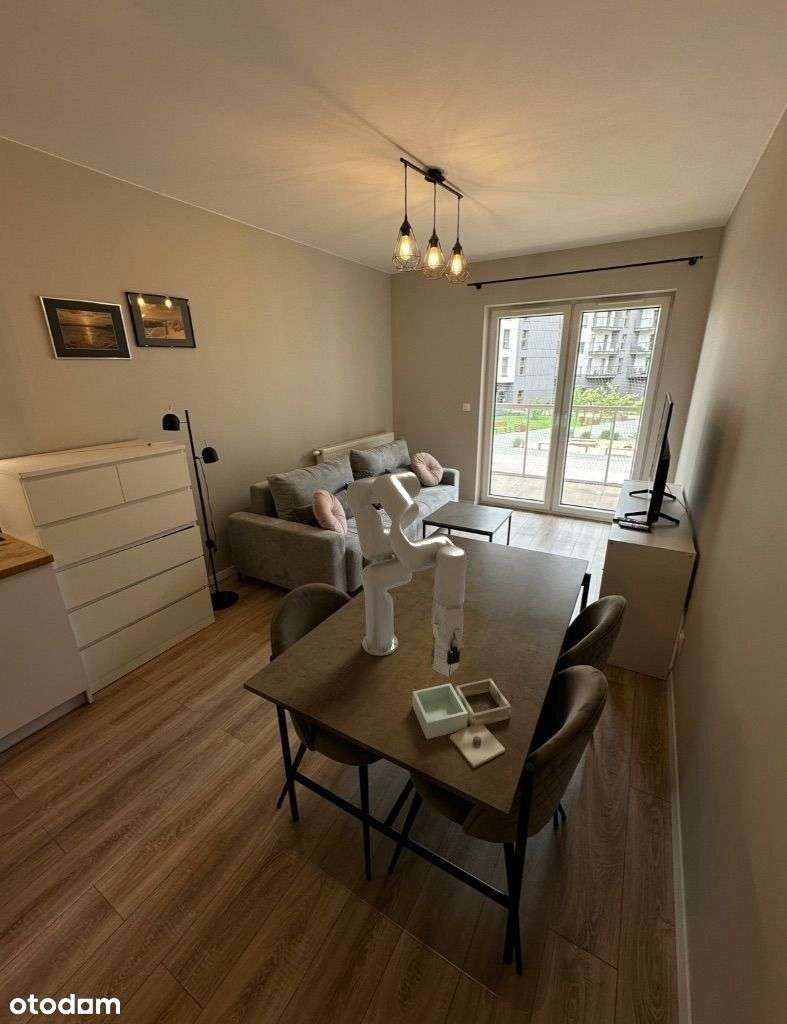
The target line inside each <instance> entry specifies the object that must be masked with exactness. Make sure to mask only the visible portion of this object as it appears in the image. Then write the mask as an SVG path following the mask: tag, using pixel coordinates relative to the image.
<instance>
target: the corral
mask: <svg viewBox="0 0 787 1024" xmlns="http://www.w3.org/2000/svg"><path fill="white" fill-rule="evenodd" d="M454 688H455V689H454V690H455V692H456V694H457V695H458V697H459V699H460V701H461V702H462V704H463V706H464V707H465V709H466V711H467V713H468V718H467V722H468V723H469V724H470V726H471V725H476V724H480V723H482V724H483V725H484V726H485V725H489V724H492V723H493V724H494V723H497V722H500V721H504V720H505V721H506V720H508V719H511V715H512V714H511V711H512V706H511V704H510V702H509V701H508V700H507V699H506V697H505V696H504V695H503V693H502V692H501V690H500V689H499V688H498V686H497V685H496V684H495V682H494V681H493V679H492V678H486V679H483V680H482V679H481V680H477V681H474V682H468V683H464V684H460V685H459V684H458V685H455V687H454ZM487 692H489V695H491V697H492V698H493V700H494V701H495V703H496V704H497V706H498V707H494V708H491V709H487V710H483V711H479V712H474V710H473V708H472V707H471V706H470V703H469V701H467V698H466V697H470V696H475V695H479V694H482V693H487Z"/></svg>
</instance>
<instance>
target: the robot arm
mask: <svg viewBox="0 0 787 1024" xmlns="http://www.w3.org/2000/svg"><path fill="white" fill-rule="evenodd" d="M420 492H421V482H420V480H419V478H418V476H417V475H416V474H415V473H414V472H411V471H409V470H407V471H406V470H405V471H398V472H393V473H385V474H382V475H379V476H372V477H371V476H370V477H366V478H360V479H356V480H354V481H352V482H350V483H349V485H348V486H347V489H346V500H347V505H348V507H349V509H350V511H351V514H352V515H353V518H354V521H355V526H356V531H357V537H358V542H359V546H360V552H361V554H362V557H364V559H366V560H376V559H381V558H384V557H385V558H386V557H388V556H391V557H392V558H390V559H385V560H381V561H377V562H374V563H373V562H372V563H370V564H368V565H366V566H365V567H364V568H363V569H362V571H361V575H360V576H361V583H362V587H363V593H364V603H365V631H366V632H365V633H366V635H365V636H364V638H363V639H362V643H361V645H362V649H363V650H364V652H366V653H368V654H369V655H372V656H376V657H379V656H387V655H390V654H392V653H394V652H395V651H396V650H397V648H398V646H399V639H398V638H397V636H396V635H395V634H394V629H395V628H394V600H393V597H392V595H391V594H390V593H388V591H389V590H392V589H393V588H397V587H399V586H402V585H405V584H408V583H409V582H411V580H412V579H413V572H419V571H420V572H421V571H423V570H426V569H427V570H428V569H430V568H433V567H434V590H433V591H434V592H433V593H434V594H433V600H432V607H431V620H430V622H431V626H432V627H433V624H434V623H436V622H437V623H438V625H439V637H440V638H441V639H442V641H443V642H444V643H446V644H447V643H448V647H449V651H448V652H447V664H448V665H450V664H455V663H458V662H459V657H460V658H461V653H460V651H463V649H464V648H465V646H464V643H463V642H464V641H463V640H462V639H463V635H464V606H463V605H464V603H465V594H466V593H465V592H466V591H465V590H466V579H467V578H466V575H467V562H468V556H467V553H466V551H465V550H464V549H463V548H461V547H458V546H456V544H454V543H453V542H452V540H451V539H450V538H449V537H447V535H443V534H440V535H439V534H438V535H435V536H430V537H425V538H421V539H418V540H413V541H410V540H409V539H408V537H407V536H406V534H405V532H404V530H405V529H406V528H408V527H410V525H412V524H413V523H414V521H416V519H417V518H418V516H419V514H420V507H419V505H418V503H417V502H416V501H415V500H414V498H417V497H418V495H419V494H420ZM373 504H374V505H375V504H379V505H380V506H381V507H382V509H383V510H384V512H385V513H386V515H387V516H388V518H389V519H390V520H391V525H390V526H385V527H384V526H383V521H382V516H381V514H380V512H379V511H378V509H376V508H375V507H374V505H373ZM453 636H454V638H455V639H452V638H453ZM451 642H456V647H453V648H452V643H451Z"/></svg>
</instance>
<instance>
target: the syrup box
mask: <svg viewBox="0 0 787 1024" xmlns="http://www.w3.org/2000/svg"><path fill="white" fill-rule="evenodd" d="M452 639H455V638H454V636H453V638H452ZM451 643H452V648H453V647H456V642H451ZM448 651H449V647H448V643H447V644H446V643H444V642H443V641H442V639H441V638H440V637H439V625H438V623H437V622H436V623H434V624H433V626H432V643H431V657H430V658H431V660H430V669H431V670H433V671H435V672H437V673H439V674H441V675H443V676H446V677H447V678H450V677H451V676H452V674H454V672H455V671H456V670H457V669H458V668H459V667H460V664H461V663H460V662H461V661H460V660H461V656H460V657H459V662H458V663H455V664H450V665H448V664H447V652H448ZM461 653H462V652H461V651H460V654H461Z"/></svg>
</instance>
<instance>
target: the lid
mask: <svg viewBox="0 0 787 1024" xmlns="http://www.w3.org/2000/svg"><path fill="white" fill-rule="evenodd" d="M449 739H450V740H451V742H452V743H453V744H454V745H455V747H457V749H458V750H459V752H460V753H461V754H462V756H463V757H464V758H465V760H467V762H468V763H469V764H470V766H471V767H472V768H473V769H475V768H477V767H479V766H480V765H482V764H484V763H486V762H488V761H490V760H492V759H493V758H495V757H497V756H499V755H500V754H503V753H505V752H506V748H505V747H504V746H503V745H502V743H500V742H499V740H498V739H497V738H496V737H495V736H494V735H493V734H492V733H491V732H490V730H489V729H488V728H487V727H486V726H485V725H483V724H482V723H480V724H476V725H470V726H467V728H465V729H463V730H461V731H457V732H453V734H452V733H451V735H449Z"/></svg>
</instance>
